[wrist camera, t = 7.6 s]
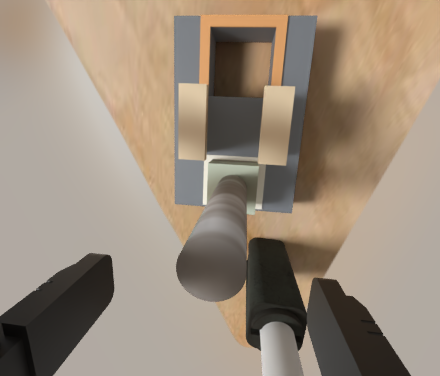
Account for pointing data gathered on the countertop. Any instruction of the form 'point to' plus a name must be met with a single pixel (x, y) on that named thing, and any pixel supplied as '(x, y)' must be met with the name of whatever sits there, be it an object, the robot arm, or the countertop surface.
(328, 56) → the countertop surface
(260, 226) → the countertop surface
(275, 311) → the candle
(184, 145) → the wooden brackets
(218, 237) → the post on square base
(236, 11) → the countertop surface
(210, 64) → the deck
